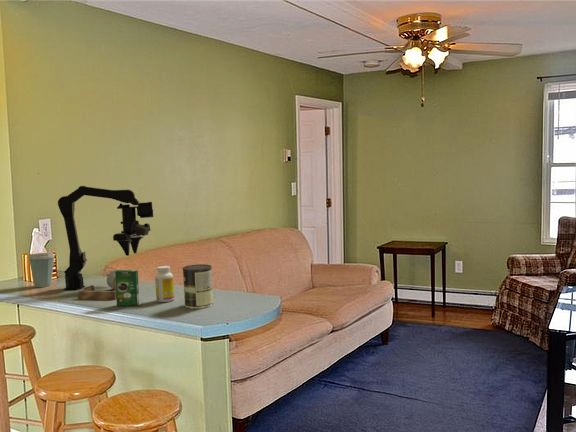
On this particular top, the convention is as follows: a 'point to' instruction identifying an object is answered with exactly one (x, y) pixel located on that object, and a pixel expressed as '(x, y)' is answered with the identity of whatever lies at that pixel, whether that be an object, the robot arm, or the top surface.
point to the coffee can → (198, 286)
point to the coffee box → (127, 287)
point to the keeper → (96, 294)
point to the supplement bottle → (164, 284)
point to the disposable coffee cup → (42, 268)
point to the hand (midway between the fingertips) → (131, 254)
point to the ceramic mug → (111, 280)
